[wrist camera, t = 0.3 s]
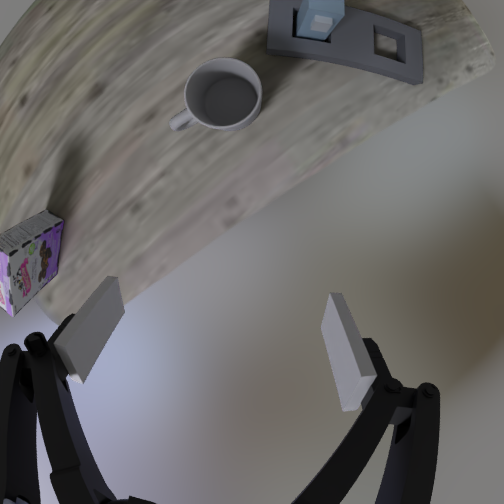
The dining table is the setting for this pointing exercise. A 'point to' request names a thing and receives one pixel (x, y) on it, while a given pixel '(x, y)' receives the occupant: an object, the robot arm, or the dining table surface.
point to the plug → (318, 18)
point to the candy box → (28, 259)
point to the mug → (220, 96)
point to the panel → (349, 42)
